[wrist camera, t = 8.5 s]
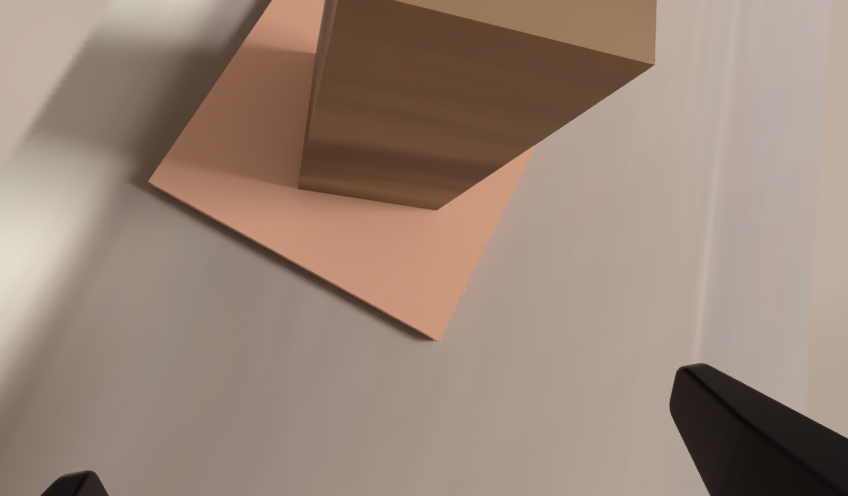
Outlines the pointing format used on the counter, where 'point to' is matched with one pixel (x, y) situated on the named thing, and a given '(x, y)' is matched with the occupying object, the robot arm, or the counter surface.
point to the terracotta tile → (313, 211)
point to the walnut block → (457, 88)
